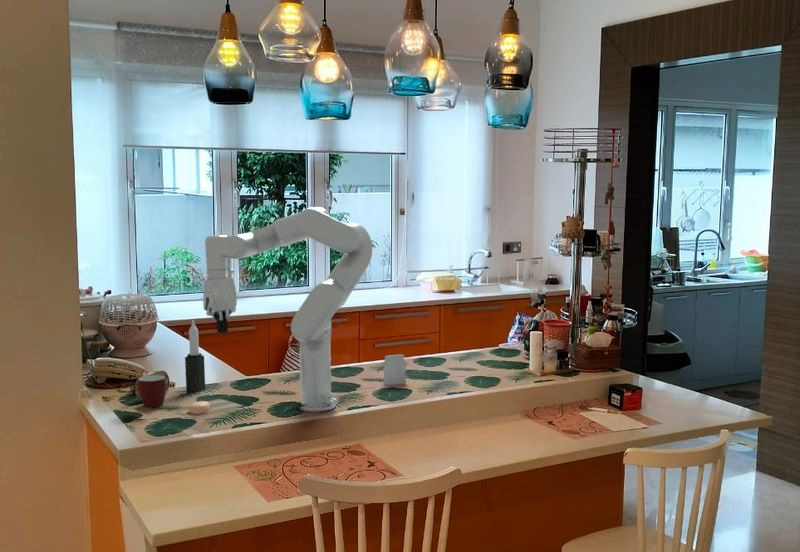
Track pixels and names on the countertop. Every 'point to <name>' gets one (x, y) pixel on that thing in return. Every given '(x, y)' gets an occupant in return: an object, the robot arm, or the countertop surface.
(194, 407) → the tan round bun
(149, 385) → the mug
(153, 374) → the tin
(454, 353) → the countertop surface
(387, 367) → the grey tall block
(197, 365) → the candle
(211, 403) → the tan piece
